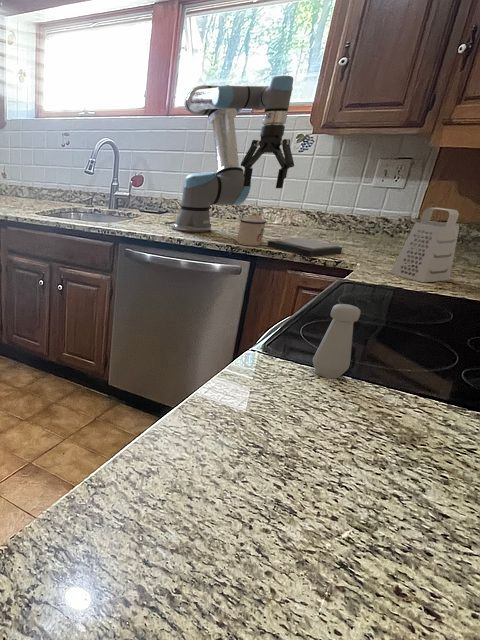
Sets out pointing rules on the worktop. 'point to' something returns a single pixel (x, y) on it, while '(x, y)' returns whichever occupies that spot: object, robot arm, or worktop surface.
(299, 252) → the scale
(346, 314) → the salt shaker
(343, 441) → the worktop surface
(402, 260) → the grater
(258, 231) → the teacup with lid
